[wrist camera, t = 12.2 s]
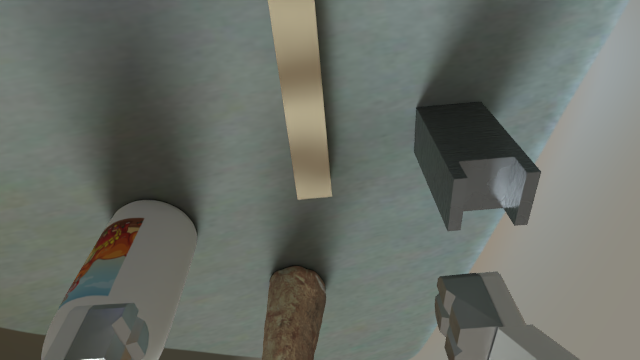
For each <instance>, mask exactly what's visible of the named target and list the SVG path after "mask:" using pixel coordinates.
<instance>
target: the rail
mask: <svg viewBox="0 0 640 360" xmlns="http://www.w3.org/2000/svg"><path fill="white" fill-rule="evenodd" d="M268 4H269V11H270V17H271V24H272V31H273V38H274V44H275V51H276V58H277V64H278V71H279V78H280V84H281V91H282V98H283V104H284V111H285V118H286V124H287V131H288V138H289V145H290V151H291V158H292V165H293V171H294V178H295V185H296V191H297V198H298V200H300V199H311V198H322V197H332V191H331V180H330V169H329V158H328V147H327V135H326V124H325V113H324V102H323V91H322V80H321V69H320V57H319V46H318V35H317V24H316V13H315V2H314V0H268Z"/></svg>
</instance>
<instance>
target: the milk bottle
mask: <svg viewBox="0 0 640 360" xmlns="http://www.w3.org/2000/svg"><path fill="white" fill-rule="evenodd" d="M196 245H197V233H196V229H195V227H194V224H193V222H192V221H191V220H190V218H189V217H188V216H187V215H186V214H185V213H184V212H183V211H181V210H180V209H178V208H177V207H175V206H172V205H171V204H168V203H165V202H162V201H156V200H139V201H135V202H132V203H129V204H127V205H125V206H123V207H122V208H120V209H119V210H118V211H117V212H116V213H115V214H114V216H113V217H112V219H111V220H110V222H109V223H108V225H107V226H106V228H105V230H104V231H103V233H102V235H101V236H100V238H99V240H98V241H97V243H96V245H95V246H94V248H93V250H92V252H91V253H90V255H89V257H88V258H87V260H86V262H85V263H84V265H83V267H82V268H81V270H80V272H79V274H78V275H77V277H76V279H75V280H74V282H73V284H72V286H71V287H70V289H69V291H68V292H67V294H66V296H65V298H64V299H63V301H62V303H61V305H60V307H59V309H58V311H57V312H56V314H55V316H54V318H53V320H52V322H51V325H50V327H49V329H48V332H47V334H46V338H45V341H44V345H43V350H42V356H41V360H43V359H44V357H45V356H46V354H47V352H48V350H49V348H50V346H51V345H52V343H53V341H54V339H55V337H56V335H57V333H58V332H59V330H60V328H61V326H62V324H63V322H64V321H65V319H66V317H67V315H68V313H69V312H70V311H71V310H72V309H73V308H74V307H75V306H88V305H104V304H121V303H135V305H136V307H137V308H138V310H139V312H138V314H137V317H139V318H141V319H142V320H144V321H145V323H146V324H147V326H148V331H149V342H148V348H147V351H146V354H145V356H144V357H143V358H142V359H141V360H158V359H159V357H160V355H161V353H162V351H163V348H164V345H165V343H166V340H167V337H168V334H169V331H170V329H171V326H172V322H173V319H174V316H175V313H176V310H177V307H178V304H179V301H180V297H181V294H182V291H183V288H184V285H185V281H186V278H187V275H188V272H189V269H190V265H191V262H192V259H193V255H194V252H195V248H196Z"/></svg>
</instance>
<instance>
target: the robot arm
mask: <svg viewBox="0 0 640 360" xmlns="http://www.w3.org/2000/svg"><path fill="white" fill-rule="evenodd" d="M437 287H438V291H439V294H438V295H437V296H436V297H435V314H436V319H437V324H438V327H439V330H440V332H441V333H442V334H443V335H444V336H445V337H446V342H445V350H446V353H447V356H448V359H449V360H580V359H578V358H577V357H576V356H574V355H573V354H572V353H570V352H569V351H567V350H566V349H565V348H563V347H562V346H561V345H559V344H558V343H557V342H555V341H554V340H553V339H551V338H550V337H549V336H547V335H546V334H544V333H543V332H542V331H540V330H539V329H537V328H536V327H535V326H533V325H526V323H525V321H524V319H523V317H522V315H521V313H520V312H519V310H518V308H517V306H516V304H515V302H514V300H513V298H512V296H511V294H510V292H509V290H508V288H507V286H506V284H505V283H504V280H503V278H502V277H501V275H500V274H499V273H498V272H486V273H477V274H476V273H470V274H460V275H450V276H440V277H439V278H438V282H437ZM138 312H139V310H138V308H137V307H136V305H135V303H121V304H104V305H88V306H75V307H74V308H73V309H72V310H71V311H70V312H69V313H68V315H67V317H66V319H65V321H64V322H63V324H62V326H61V328H60V330H59V332H58V333H57V335H56V337H55V339H54V341H53V343H52V345H51V346H50V348H49V350H48V352H47V354H46V356H45V357H44V359H43V360H141V359H142V358H143V357H144V356H145V354H146V351H147V348H148V342H149V331H148V326H147V324H146V323H145V321H144V320H142V319H141V318H139V317H137V314H138Z"/></svg>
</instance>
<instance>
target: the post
mask: <svg viewBox="0 0 640 360" xmlns="http://www.w3.org/2000/svg"><path fill="white" fill-rule="evenodd" d="M414 153H415V156H416V158H417V160H418V163H419V165H420V167H421V170H422V172H423V174H424V177H425V179H426V181H427V184H428V186H429V188H430V191H431V193H432V195H433V198H434V200H435V203H436V205H437V207H438V210H439V212H440V214H441V217H442V219H443V221H444V224H445V226H446V228H447V231H456V230H460V229H461V222H462V215H463V211H472V210H483V209H495V208H504V210H505V211H506V213H507V215H508V216H509V218H510V219H511V221H512V222H513V224H514V225H527V223H528V220H529V216H530V212H531V208H532V204H533V201H534V197H535V193H536V189H537V185H538V182H539V178H540V174H541V171H540V170H539V169H538V168H537V167H536V165H535V164H534V163H533V162H532V161H531V159H530V158H529V157H528V156H527V155H526V154H525V152H524V151H523V150H522V149H521V148H520V147H519V145H518V144H517V143H516V142H515V141H514V140H513V138H512V137H511V136H510V135H509V134H508V133H507V131H506V130H505V129H504V128H503V127H502V125H501V124H500V123H499V122H498V121H497V120H496V118H495V117H494V116H493V115H492V114H491V113H490V111H489V110H488V109H487V108H486V107H485V106H484V104H483V103H482V102H474V103H463V104H452V105H441V106H430V107H419V108H416V124H415V143H414Z"/></svg>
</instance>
